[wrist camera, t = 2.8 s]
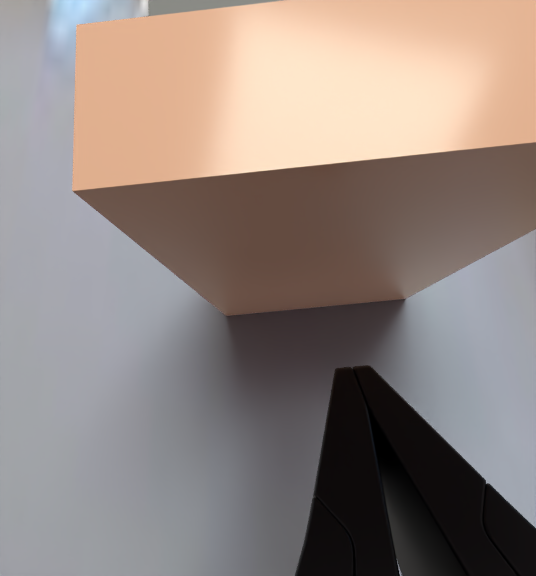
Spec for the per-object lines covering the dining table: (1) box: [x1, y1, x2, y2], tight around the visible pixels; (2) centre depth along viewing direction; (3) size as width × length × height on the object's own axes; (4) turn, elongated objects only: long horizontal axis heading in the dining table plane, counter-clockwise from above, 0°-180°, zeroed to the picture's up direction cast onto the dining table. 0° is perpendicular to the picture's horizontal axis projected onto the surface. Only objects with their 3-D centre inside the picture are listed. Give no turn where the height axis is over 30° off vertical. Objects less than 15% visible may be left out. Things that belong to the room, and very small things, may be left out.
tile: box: [72, 0, 536, 316], centre depth 11 cm, size 3×8×12 cm, turn 95°
